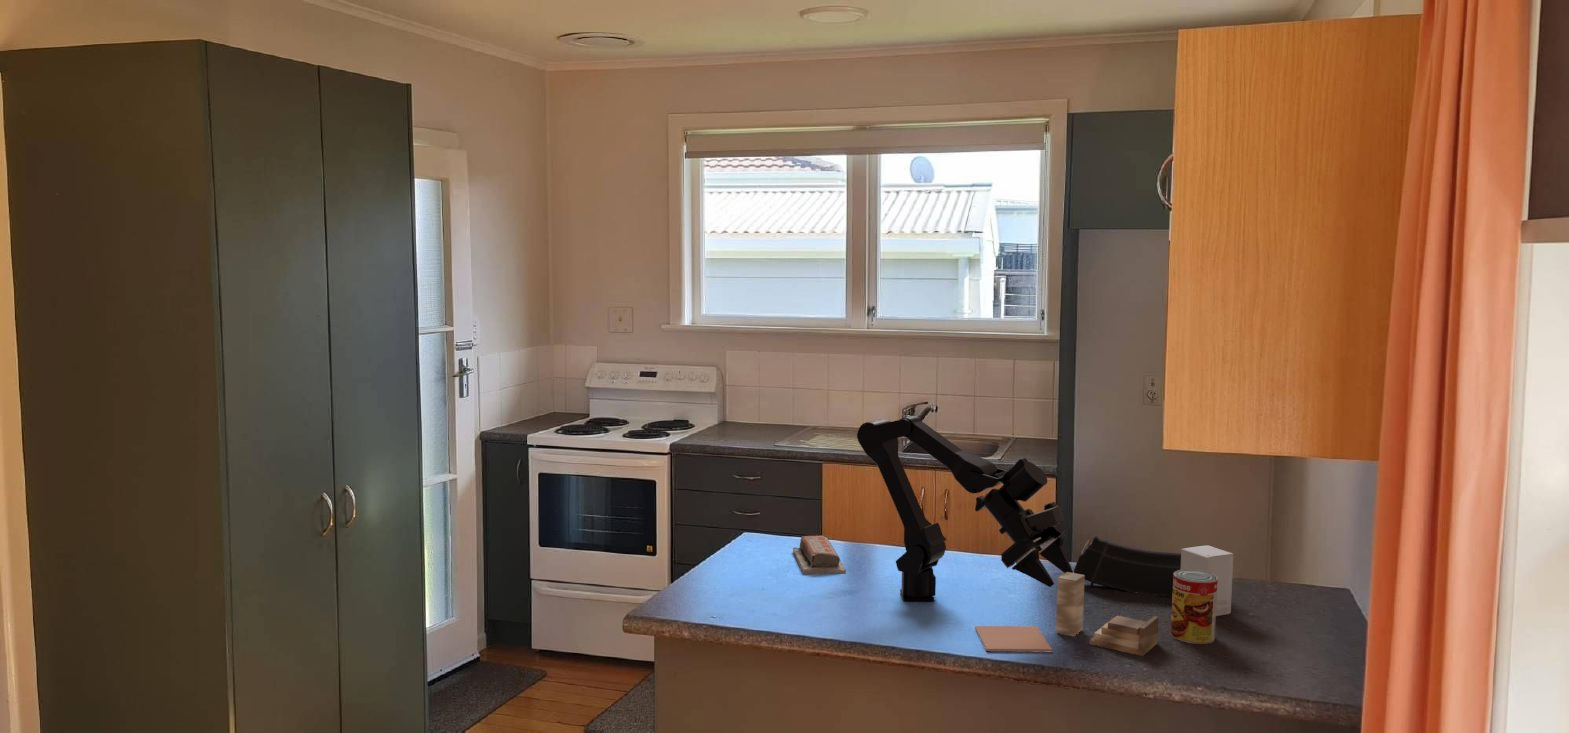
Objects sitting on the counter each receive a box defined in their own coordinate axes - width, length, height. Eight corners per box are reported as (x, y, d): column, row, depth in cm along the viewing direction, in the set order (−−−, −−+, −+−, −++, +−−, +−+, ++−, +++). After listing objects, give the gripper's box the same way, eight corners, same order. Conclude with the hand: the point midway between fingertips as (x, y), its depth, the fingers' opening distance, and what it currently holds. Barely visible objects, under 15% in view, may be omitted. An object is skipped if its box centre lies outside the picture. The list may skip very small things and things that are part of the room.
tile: (986, 651, 201) (986, 648, 201) (975, 628, 213) (975, 625, 213) (1051, 652, 201) (1052, 649, 201) (1036, 629, 213) (1037, 626, 213)
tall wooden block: (1056, 633, 211) (1058, 577, 210) (1065, 626, 215) (1067, 571, 214) (1073, 637, 209) (1075, 580, 208) (1082, 630, 213) (1084, 575, 212)
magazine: (1237, 558, 231) (1098, 505, 240) (1238, 563, 228) (1096, 508, 237) (1208, 631, 235) (1072, 575, 244) (1208, 636, 232) (1070, 579, 241)
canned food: (1166, 628, 214) (1169, 568, 213) (1207, 630, 214) (1211, 570, 212) (1176, 643, 207) (1179, 580, 205) (1219, 645, 206) (1223, 582, 204)
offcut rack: (1089, 644, 206) (1090, 617, 205) (1105, 632, 212) (1106, 605, 211) (1142, 656, 200) (1144, 628, 199) (1157, 643, 206) (1158, 616, 205)
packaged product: (792, 534, 264) (833, 533, 266) (792, 553, 265) (832, 552, 266) (803, 555, 247) (846, 554, 248) (802, 576, 247) (846, 575, 248)
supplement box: (1231, 614, 223) (1235, 553, 222) (1203, 618, 220) (1206, 557, 219) (1205, 603, 230) (1208, 544, 228) (1177, 607, 227) (1180, 547, 226)
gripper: (1017, 499, 206) (1072, 567, 201) (1057, 482, 221) (1109, 545, 216) (978, 534, 211) (1030, 601, 206) (1020, 515, 226) (1069, 577, 221)
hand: (1061, 579), depth 212 cm, fingers open, 9 cm apart
